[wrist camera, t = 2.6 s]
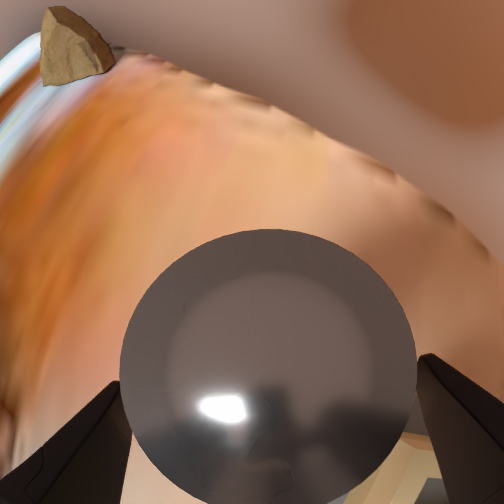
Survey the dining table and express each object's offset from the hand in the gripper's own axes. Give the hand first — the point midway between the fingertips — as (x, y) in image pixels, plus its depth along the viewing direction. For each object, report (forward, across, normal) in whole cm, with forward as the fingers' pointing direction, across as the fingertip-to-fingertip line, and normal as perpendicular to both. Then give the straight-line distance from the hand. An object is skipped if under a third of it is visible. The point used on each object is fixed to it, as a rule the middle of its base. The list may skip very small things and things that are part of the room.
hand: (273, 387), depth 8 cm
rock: (+29, +20, -16) cm, 38 cm away
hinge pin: (+6, 0, +6) cm, 8 cm away
